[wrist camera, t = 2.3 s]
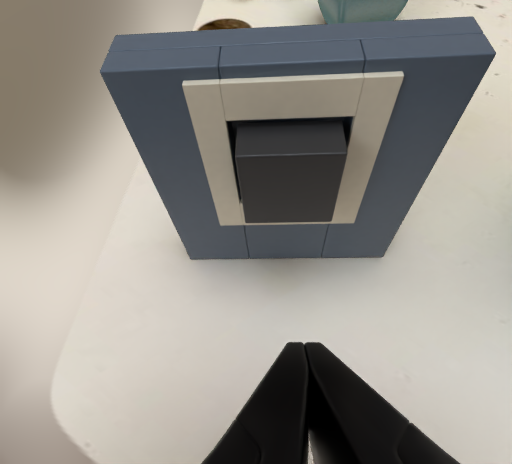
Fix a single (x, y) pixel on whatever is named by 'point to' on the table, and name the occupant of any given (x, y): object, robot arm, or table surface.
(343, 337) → the table surface
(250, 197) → the switch button
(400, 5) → the flower pot
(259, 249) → the wall panel
